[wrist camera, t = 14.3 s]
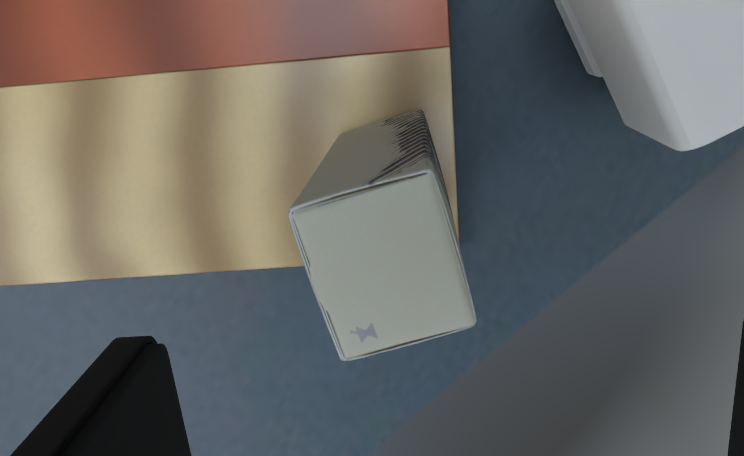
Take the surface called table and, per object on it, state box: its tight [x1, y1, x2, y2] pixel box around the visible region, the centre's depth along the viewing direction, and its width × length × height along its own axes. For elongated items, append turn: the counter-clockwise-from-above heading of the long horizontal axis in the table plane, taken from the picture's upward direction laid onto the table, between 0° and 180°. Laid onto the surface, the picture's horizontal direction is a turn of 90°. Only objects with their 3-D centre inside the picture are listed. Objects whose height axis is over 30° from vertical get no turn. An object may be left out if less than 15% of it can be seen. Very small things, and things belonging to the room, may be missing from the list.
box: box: [288, 109, 476, 361], centre depth 23 cm, size 5×4×13 cm
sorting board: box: [0, 0, 459, 286], centre depth 29 cm, size 24×20×1 cm
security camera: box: [554, 0, 744, 151], centre depth 23 cm, size 6×7×10 cm
